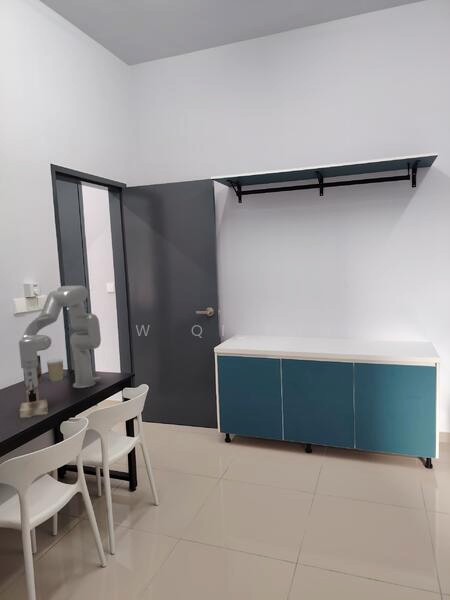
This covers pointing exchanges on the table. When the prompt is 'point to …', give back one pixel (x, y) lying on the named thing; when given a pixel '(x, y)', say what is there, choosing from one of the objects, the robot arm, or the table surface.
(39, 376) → the coffee box
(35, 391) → the terracotta cube
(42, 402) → the birch block
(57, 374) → the coffee cup
